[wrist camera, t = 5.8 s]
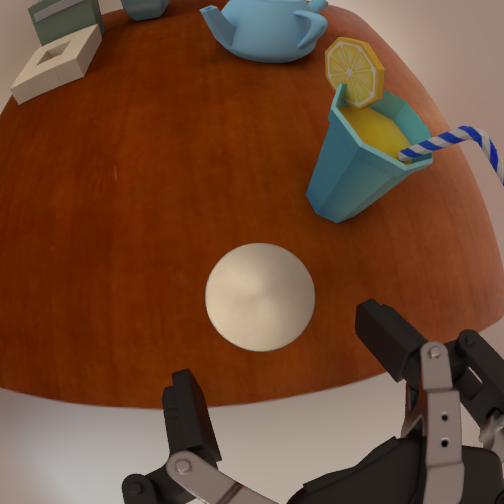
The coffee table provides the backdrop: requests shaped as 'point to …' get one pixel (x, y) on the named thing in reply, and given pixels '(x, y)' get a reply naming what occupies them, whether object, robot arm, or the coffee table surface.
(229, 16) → the teapot
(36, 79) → the hollow square tile
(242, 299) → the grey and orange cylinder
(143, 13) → the flower pot
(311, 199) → the cup
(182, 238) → the coffee table surface
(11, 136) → the coffee table surface
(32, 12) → the green upright block
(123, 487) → the robot arm
